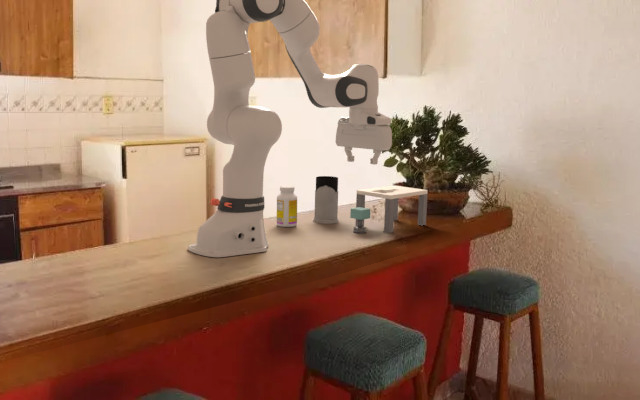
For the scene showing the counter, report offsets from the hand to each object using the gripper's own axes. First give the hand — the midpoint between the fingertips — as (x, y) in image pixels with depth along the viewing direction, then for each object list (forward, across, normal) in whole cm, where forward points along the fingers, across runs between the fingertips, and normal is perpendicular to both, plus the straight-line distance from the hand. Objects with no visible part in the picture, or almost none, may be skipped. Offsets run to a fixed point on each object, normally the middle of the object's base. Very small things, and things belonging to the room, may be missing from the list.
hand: (362, 162), depth 206 cm
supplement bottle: (+22, -22, -11) cm, 33 cm away
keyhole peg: (+22, 0, 0) cm, 22 cm away
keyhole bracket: (+22, 0, +16) cm, 27 cm away
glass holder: (+22, -21, +7) cm, 31 cm away
